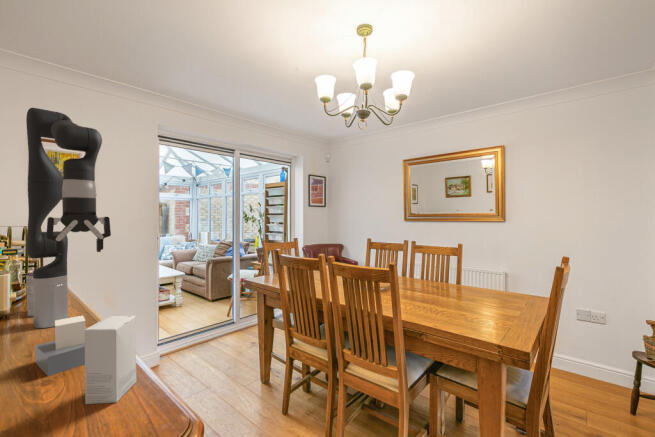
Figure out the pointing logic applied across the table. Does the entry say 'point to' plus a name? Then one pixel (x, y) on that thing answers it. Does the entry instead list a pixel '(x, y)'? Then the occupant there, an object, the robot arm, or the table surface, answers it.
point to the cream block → (69, 332)
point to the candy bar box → (30, 295)
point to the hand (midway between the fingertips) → (80, 253)
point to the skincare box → (110, 359)
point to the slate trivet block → (58, 357)
